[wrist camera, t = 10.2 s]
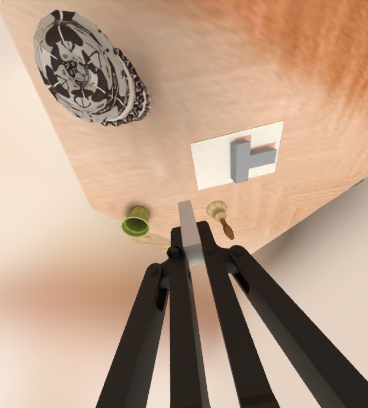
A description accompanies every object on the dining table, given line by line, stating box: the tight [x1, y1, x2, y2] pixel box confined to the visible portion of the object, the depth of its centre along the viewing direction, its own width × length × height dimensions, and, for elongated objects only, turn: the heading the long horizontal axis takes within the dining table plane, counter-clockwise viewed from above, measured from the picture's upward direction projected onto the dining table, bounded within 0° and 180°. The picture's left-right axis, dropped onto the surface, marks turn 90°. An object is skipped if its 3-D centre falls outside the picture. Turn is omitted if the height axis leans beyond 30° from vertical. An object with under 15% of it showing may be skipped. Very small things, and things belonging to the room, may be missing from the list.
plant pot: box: [121, 207, 150, 238], centre depth 48 cm, size 9×9×9 cm
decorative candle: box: [34, 10, 151, 126], centre depth 22 cm, size 9×9×25 cm
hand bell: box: [207, 201, 234, 240], centre depth 48 cm, size 8×8×16 cm
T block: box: [230, 139, 277, 183], centre depth 41 cm, size 12×12×4 cm
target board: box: [190, 121, 284, 190], centre depth 43 cm, size 16×28×1 cm, turn 102°
